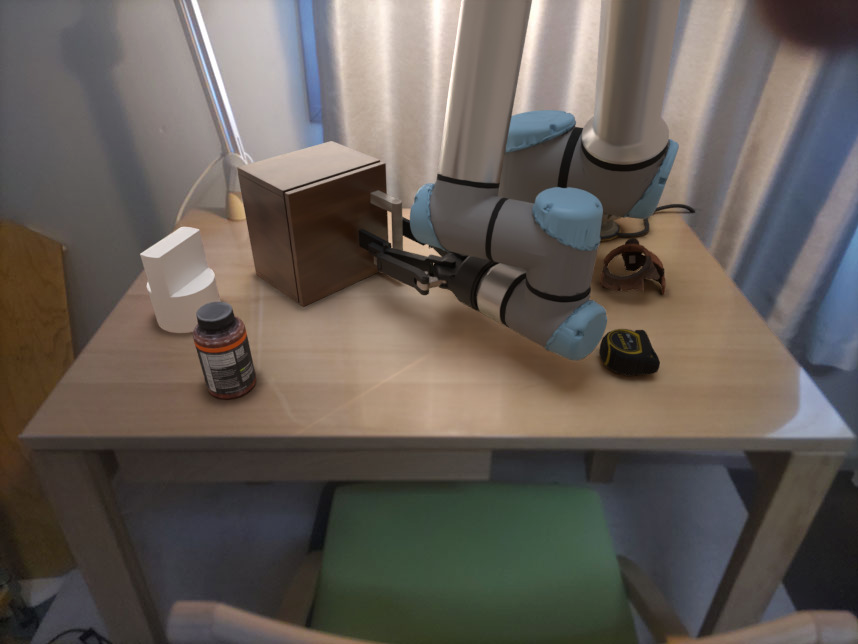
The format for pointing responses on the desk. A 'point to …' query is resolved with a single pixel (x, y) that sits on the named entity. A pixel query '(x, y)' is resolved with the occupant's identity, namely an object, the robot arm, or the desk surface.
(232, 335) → the supplement bottle
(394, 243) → the cabinet door
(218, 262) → the desk surface
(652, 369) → the tape measure
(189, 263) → the base with upright slab
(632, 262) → the brown hollow curved shell
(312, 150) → the cabinet
